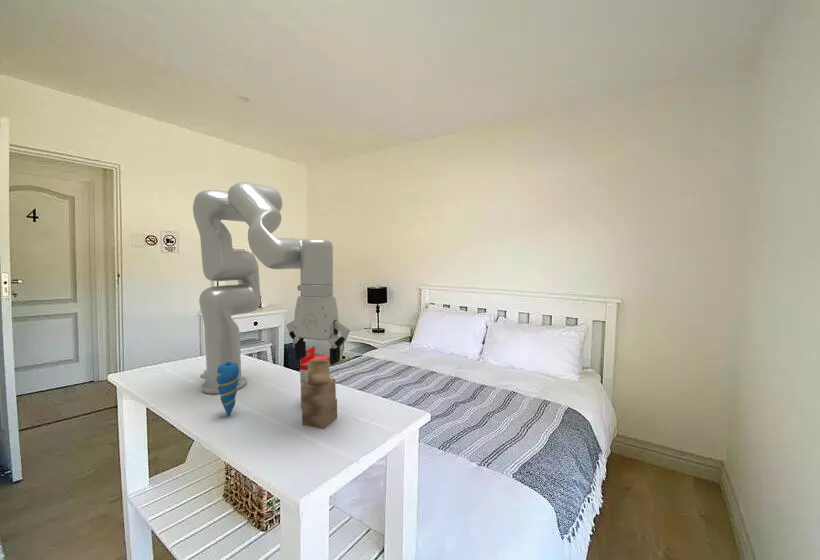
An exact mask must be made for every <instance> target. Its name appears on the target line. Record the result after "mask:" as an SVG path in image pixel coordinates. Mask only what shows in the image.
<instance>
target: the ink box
mask: <svg viewBox="0 0 820 560" xmlns="http://www.w3.org/2000/svg"><path fill="white" fill-rule="evenodd" d="M315 352H316V346H312V347H310V348H306V356H305V357H304V358H301V359H299V362H300V364H299V373H300V374H299V376H300V377H299V378H300V381H299V382H300V386H301V385H303V384H304V383H306V382H307V381H308V362H309V361H311V360H314V359H327V360H329V361H330V356H325V355H316V354H315ZM308 353H309V354H308ZM300 406H301V407H302V390H301V389H300Z"/></svg>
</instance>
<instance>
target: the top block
mask: <svg viewBox="0 0 820 560" xmlns="http://www.w3.org/2000/svg"><path fill="white" fill-rule="evenodd" d="M329 380H330V381H329V383H327V384H324V385H318V386H314V385H310V384H309V383H308V381H307V382H306V383H304V384H303V385H301V384H300V391H301V390H302V406H307V407H319V408H326V407H327V406H328V405H329V404H330V403H331V402H332V401H333V400H334V399H337V394H336V393H337V390H336V378H334V377H333V378H332V377H329ZM302 406H301V407H302Z"/></svg>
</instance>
